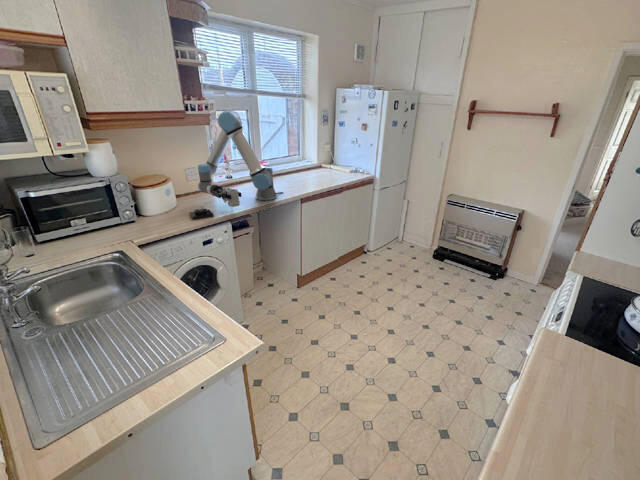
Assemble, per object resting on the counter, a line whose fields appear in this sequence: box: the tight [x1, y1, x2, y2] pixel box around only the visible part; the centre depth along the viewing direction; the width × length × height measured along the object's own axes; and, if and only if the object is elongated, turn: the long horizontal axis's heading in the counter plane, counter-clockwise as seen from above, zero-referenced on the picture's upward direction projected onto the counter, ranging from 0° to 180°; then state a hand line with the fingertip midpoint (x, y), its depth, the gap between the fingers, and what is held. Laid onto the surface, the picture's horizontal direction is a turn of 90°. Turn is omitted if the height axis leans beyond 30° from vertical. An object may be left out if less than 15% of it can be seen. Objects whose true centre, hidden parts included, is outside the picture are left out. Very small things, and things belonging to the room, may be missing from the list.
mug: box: [222, 186, 241, 208], centre depth 208 cm, size 8×12×12 cm, turn 75°
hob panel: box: [189, 207, 214, 221], centre depth 202 cm, size 12×10×4 cm
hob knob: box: [196, 206, 205, 211], centre depth 201 cm, size 4×4×2 cm
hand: (235, 196), depth 205 cm, fingers closed on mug, 7 cm apart
